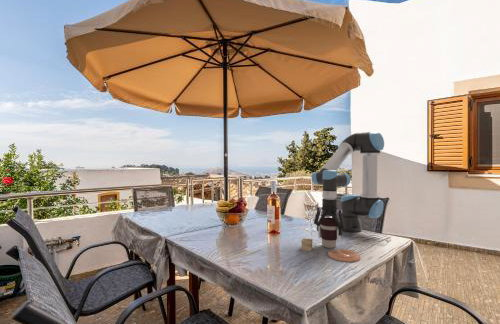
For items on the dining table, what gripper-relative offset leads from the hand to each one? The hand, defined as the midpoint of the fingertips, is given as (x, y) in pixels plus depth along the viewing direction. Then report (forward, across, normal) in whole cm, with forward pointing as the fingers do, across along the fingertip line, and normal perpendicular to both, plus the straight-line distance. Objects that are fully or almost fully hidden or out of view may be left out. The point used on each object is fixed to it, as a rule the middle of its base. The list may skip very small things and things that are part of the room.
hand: (329, 239), depth 150 cm
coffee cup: (+4, 0, 0) cm, 4 cm away
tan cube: (+4, -7, -12) cm, 15 cm away
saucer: (+4, +12, -10) cm, 16 cm away
